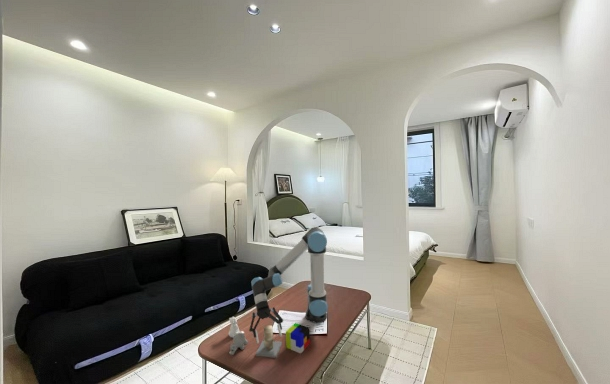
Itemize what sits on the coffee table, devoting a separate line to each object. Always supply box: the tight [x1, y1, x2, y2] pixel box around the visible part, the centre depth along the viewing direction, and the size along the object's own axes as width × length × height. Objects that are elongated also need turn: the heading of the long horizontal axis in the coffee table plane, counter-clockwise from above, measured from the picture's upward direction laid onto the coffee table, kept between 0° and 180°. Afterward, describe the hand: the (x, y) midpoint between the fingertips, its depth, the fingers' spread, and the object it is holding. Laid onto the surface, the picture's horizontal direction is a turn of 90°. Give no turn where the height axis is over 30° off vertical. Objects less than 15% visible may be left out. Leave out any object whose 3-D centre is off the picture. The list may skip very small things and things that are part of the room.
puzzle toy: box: [285, 322, 311, 354], centre depth 153 cm, size 10×10×10 cm
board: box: [254, 339, 283, 359], centre depth 151 cm, size 12×12×1 cm
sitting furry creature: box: [228, 316, 245, 339], centre depth 165 cm, size 10×9×12 cm
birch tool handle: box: [263, 324, 274, 350], centre depth 150 cm, size 5×5×12 cm
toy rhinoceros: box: [229, 333, 249, 356], centre depth 151 cm, size 7×12×8 cm, turn 147°
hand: (269, 339), depth 148 cm, fingers open, 13 cm apart
